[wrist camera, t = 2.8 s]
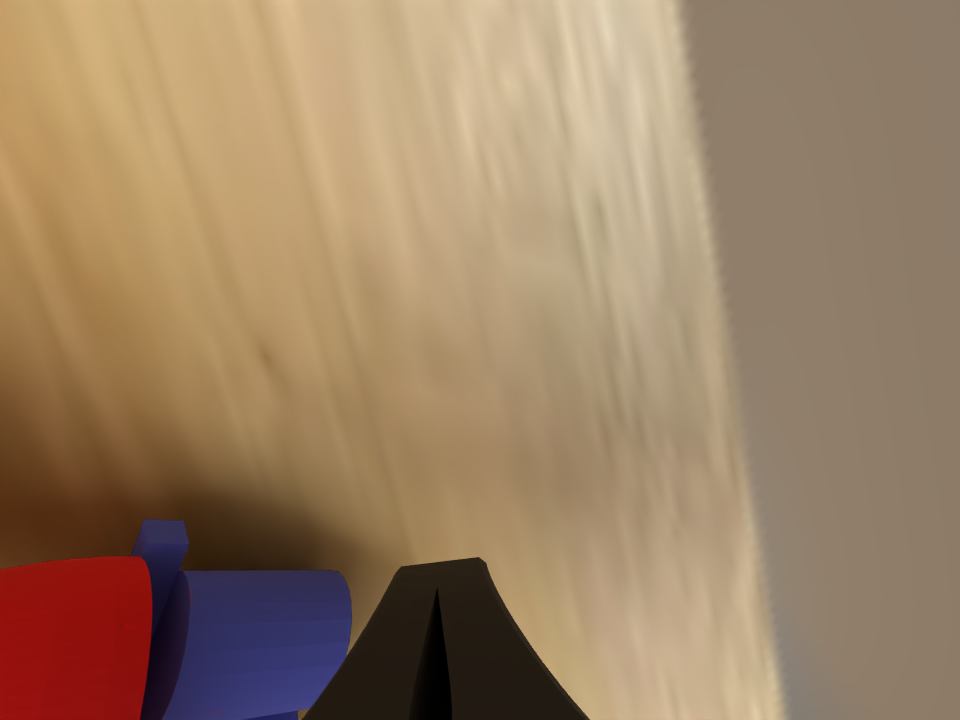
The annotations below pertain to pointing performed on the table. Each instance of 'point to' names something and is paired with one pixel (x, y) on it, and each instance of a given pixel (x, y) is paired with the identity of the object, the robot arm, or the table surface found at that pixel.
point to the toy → (166, 637)
